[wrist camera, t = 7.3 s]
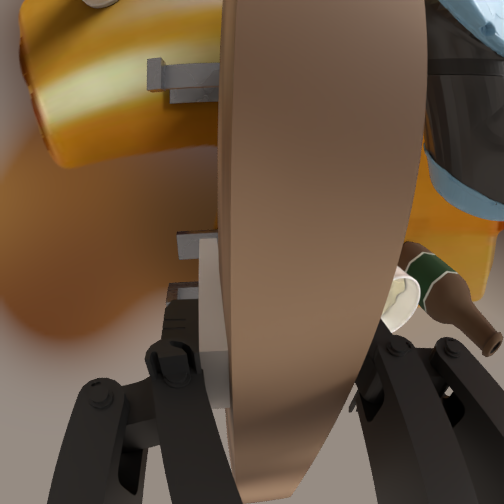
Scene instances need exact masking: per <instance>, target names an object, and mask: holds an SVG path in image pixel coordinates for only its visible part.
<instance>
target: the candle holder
mask: <svg viewBox="0 0 504 504" xmlns="http://www.w3.org/2000/svg"><path fill="white" fill-rule="evenodd" d="M419 300H420V286H419V284H418V282H417V281H416V280H415V279H414V278H413V277H411V276H410V275H408V274H407V273H406V272H405V271H403V270H402V269H401V268H400V267H398V266H397V268H396V272H395V275H394V278H393V282H392V285H391V288H390V291H389V294H388V297H387V300H386V303H385V306H384V309H383V312H382V315H381V319H382V321H383V322H384V323H385V325H386V326H387V327H388V329H389V330H390V332H391V333H392V332H394V331H396V330H397V329H399V328H400V327H401V326H403V325H404V324H405V323H406V322H407V321H408V320H409V318H410V317H411V316H412V314H413V313H414V311H415V310H416V308H417V306H418V303H419Z"/></svg>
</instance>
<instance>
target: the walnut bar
mask: <svg viewBox="0 0 504 504" xmlns="http://www.w3.org/2000/svg"><path fill="white" fill-rule="evenodd" d="M426 93H427V29H426V14H425V3H424V0H223V7H222V25H221V45H220V70H219V103H218V258H219V275H220V285H221V294H222V303H223V312H224V321H225V329H226V338H227V346H228V364H229V392H230V408H225V411H226V425H227V438H228V446H229V453H230V461H231V469H232V475H233V478H234V480H235V483H236V486H237V489H238V491H239V494H240V497H241V500H242V502H243V504H246V503H255V502H263V501H269V500H276V499H282V498H288V497H291V495H292V494H293V492H294V491H295V489H296V488H297V486H298V485H299V483H300V482H301V480H302V478H303V477H304V476H305V474H306V472H307V471H308V469H309V468H310V466H311V464H312V463H313V461H314V459H315V458H316V456H317V454H318V453H319V451H320V449H321V447H322V446H323V444H324V442H325V440H326V438H327V437H328V435H329V433H330V431H331V429H332V427H333V425H334V423H335V422H336V420H337V418H338V416H339V414H340V412H341V410H342V408H343V406H344V404H345V402H346V400H347V397H348V395H349V393H350V391H351V389H352V387H353V385H354V383H355V380H356V378H357V376H358V374H359V371H360V369H361V367H362V364H363V362H364V360H365V357H366V355H367V352H368V350H369V347H370V345H371V342H372V340H373V337H374V334H375V332H376V329H377V326H378V324H379V321H380V318H381V315H382V312H383V309H384V306H385V303H386V300H387V297H388V294H389V291H390V288H391V285H392V282H393V278H394V275H395V272H396V268H397V265H398V261H399V257H400V254H401V250H402V246H403V242H404V238H405V234H406V230H407V226H408V221H409V217H410V212H411V208H412V203H413V198H414V192H415V187H416V181H417V175H418V169H419V163H420V156H421V148H422V140H423V131H424V121H425V109H426Z"/></svg>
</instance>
